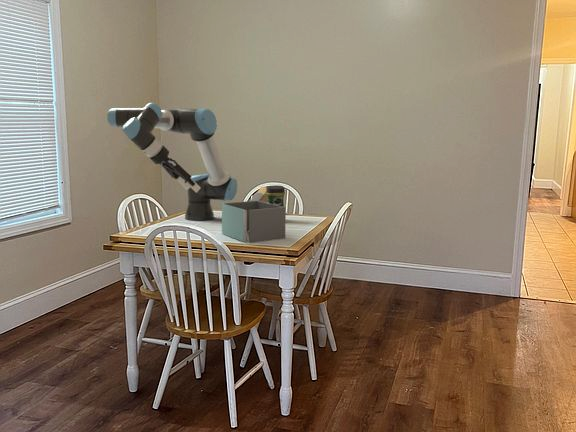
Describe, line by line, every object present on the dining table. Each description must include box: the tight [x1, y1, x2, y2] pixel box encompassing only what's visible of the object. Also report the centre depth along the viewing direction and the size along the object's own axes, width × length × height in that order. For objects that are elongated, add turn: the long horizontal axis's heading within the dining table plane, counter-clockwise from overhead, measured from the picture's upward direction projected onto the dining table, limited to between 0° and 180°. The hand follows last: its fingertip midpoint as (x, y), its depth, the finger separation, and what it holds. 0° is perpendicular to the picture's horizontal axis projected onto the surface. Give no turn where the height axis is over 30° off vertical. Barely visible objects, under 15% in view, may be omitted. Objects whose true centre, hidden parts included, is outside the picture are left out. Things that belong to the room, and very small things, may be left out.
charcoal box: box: [223, 200, 287, 244], centre depth 248 cm, size 18×24×14 cm
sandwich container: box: [249, 186, 267, 203], centre depth 308 cm, size 9×15×15 cm, turn 124°
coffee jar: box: [266, 184, 286, 207], centre depth 287 cm, size 10×8×19 cm
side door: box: [221, 203, 248, 243], centre depth 242 cm, size 1×21×14 cm, turn 34°
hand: (193, 189), depth 231 cm, fingers open, 9 cm apart
